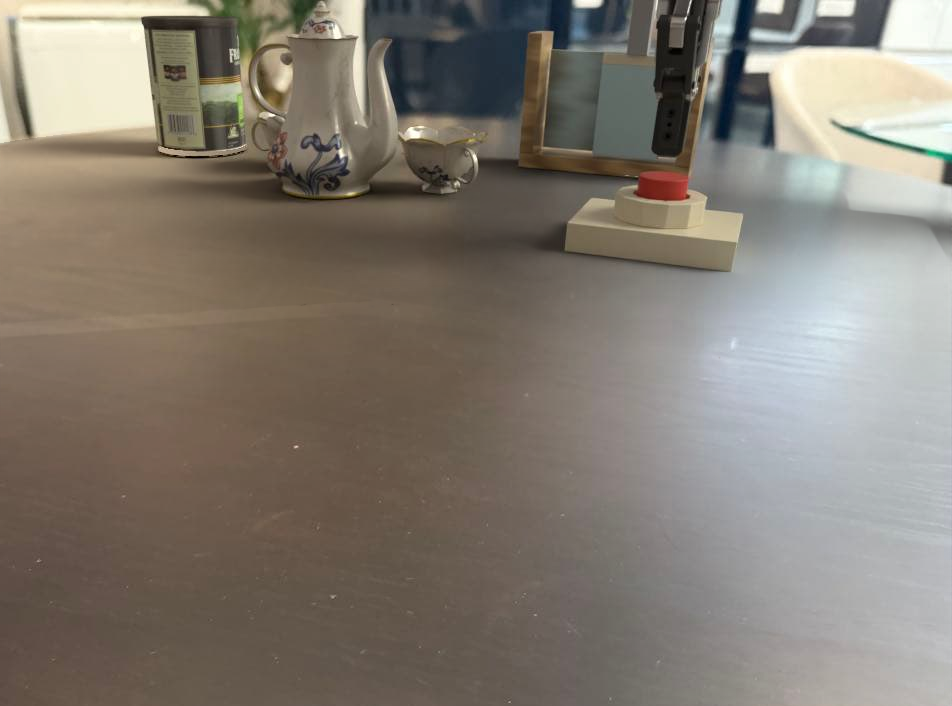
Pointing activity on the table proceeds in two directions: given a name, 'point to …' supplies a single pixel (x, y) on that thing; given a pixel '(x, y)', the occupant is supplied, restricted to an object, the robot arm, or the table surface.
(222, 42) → the coffee can
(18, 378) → the table surface
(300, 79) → the chinaware
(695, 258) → the button box
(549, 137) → the window frame
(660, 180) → the button
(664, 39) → the robot arm
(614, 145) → the blue-grey flat panel
